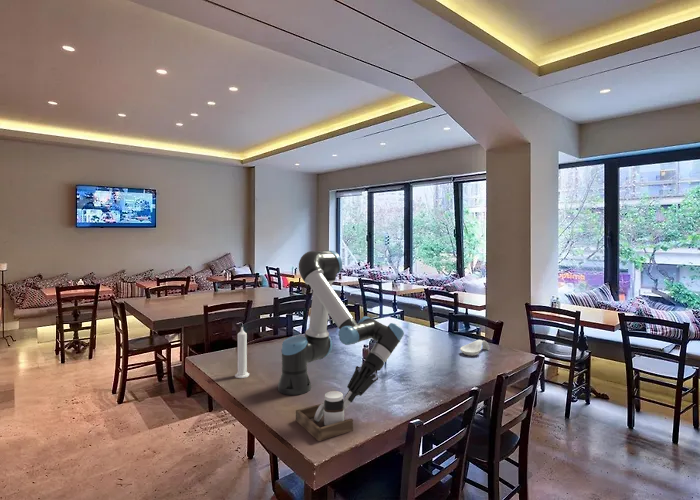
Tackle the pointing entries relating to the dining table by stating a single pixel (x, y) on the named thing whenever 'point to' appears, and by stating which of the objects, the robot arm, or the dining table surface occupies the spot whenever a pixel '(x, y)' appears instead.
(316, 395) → the dining table surface
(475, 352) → the spoon rest
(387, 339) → the robot arm
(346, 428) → the walnut bay
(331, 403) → the spread jar
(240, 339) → the candle
